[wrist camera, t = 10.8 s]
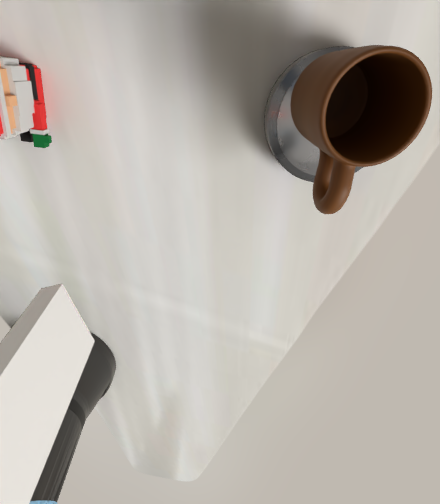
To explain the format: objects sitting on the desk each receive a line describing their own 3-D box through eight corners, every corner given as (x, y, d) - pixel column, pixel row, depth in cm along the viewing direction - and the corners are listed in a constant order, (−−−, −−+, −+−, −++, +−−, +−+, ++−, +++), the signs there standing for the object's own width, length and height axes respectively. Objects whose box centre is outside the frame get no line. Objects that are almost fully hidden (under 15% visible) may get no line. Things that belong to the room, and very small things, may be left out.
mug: (336, 192, 34) (377, 231, 26) (266, 179, 33) (284, 216, 25) (386, 61, 28) (459, 58, 20) (302, 41, 27) (342, 29, 19)
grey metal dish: (274, 187, 36) (278, 196, 34) (254, 67, 31) (258, 67, 28) (382, 160, 35) (396, 168, 33) (383, 31, 30) (400, 28, 27)
